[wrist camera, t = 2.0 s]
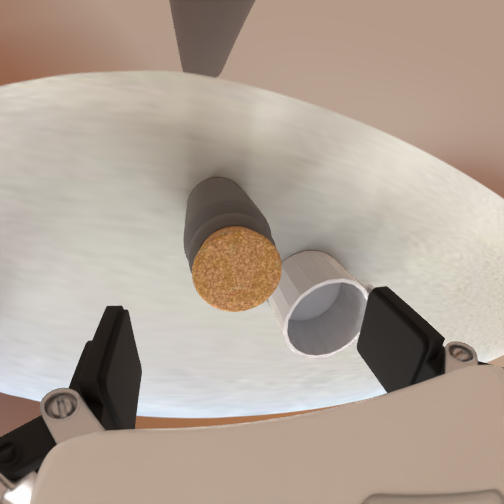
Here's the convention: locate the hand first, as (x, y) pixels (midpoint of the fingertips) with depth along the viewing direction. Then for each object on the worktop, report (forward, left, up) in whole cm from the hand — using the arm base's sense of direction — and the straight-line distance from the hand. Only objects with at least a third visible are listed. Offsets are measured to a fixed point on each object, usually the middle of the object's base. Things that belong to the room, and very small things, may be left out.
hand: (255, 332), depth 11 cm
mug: (+10, +12, -20) cm, 25 cm away
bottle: (0, 0, -20) cm, 20 cm away
